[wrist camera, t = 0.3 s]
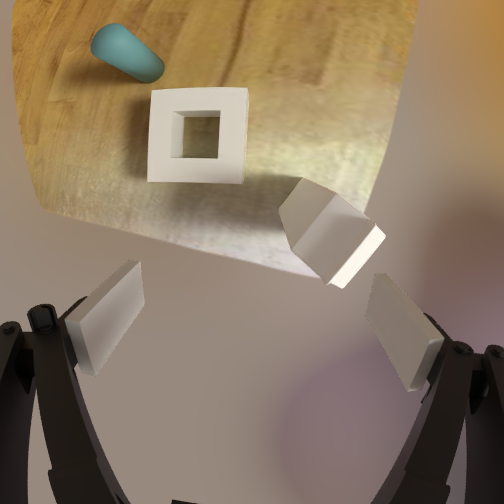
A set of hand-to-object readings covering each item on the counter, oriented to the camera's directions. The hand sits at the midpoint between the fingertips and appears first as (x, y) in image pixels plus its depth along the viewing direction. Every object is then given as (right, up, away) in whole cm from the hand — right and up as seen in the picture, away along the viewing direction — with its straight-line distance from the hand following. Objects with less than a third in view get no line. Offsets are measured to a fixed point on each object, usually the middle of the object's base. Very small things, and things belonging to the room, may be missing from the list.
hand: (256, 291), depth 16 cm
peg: (-15, +29, +19) cm, 38 cm away
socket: (-7, +18, +23) cm, 30 cm away
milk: (+8, +9, +26) cm, 28 cm away
